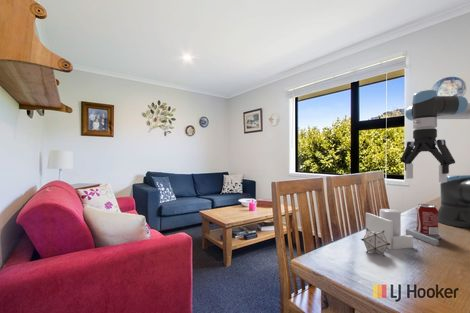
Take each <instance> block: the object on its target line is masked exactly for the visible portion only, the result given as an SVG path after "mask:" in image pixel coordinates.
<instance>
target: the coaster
mask: <svg viewBox="0 0 470 313" xmlns="http://www.w3.org/2000/svg"><path fill="white" fill-rule="evenodd" d="M411 230H412V231H415V232H417V231H416V229H411ZM429 237H432V238H435V239H437V240H439V239H441V236H440V235H439V234H438V235H436V236H429Z"/></svg>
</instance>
